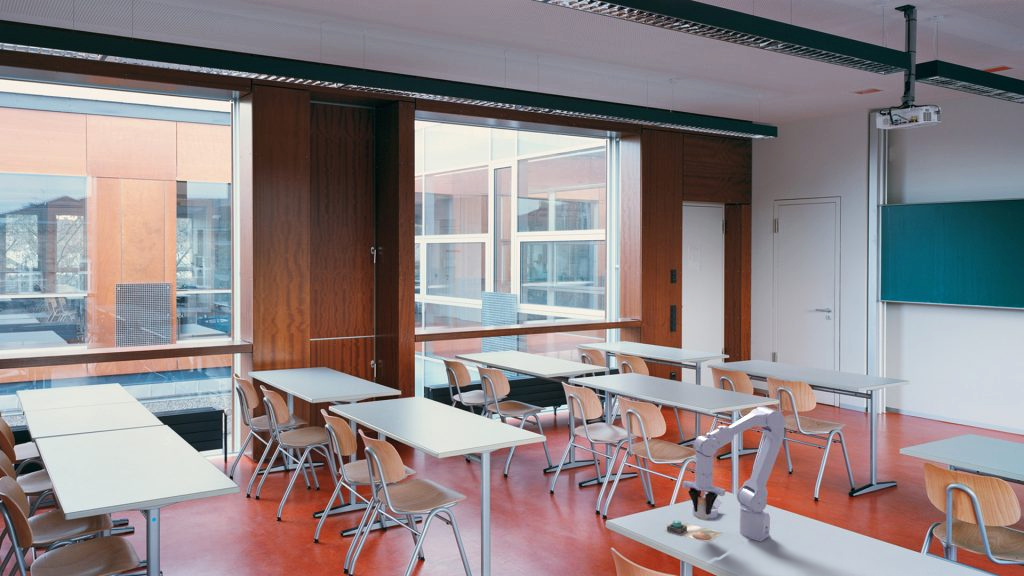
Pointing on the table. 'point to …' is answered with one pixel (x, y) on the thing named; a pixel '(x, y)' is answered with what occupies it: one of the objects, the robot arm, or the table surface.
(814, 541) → the table surface
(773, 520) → the table surface
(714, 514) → the wedge on round base
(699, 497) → the capsule peg
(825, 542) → the table surface
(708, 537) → the beige base plate
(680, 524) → the button
